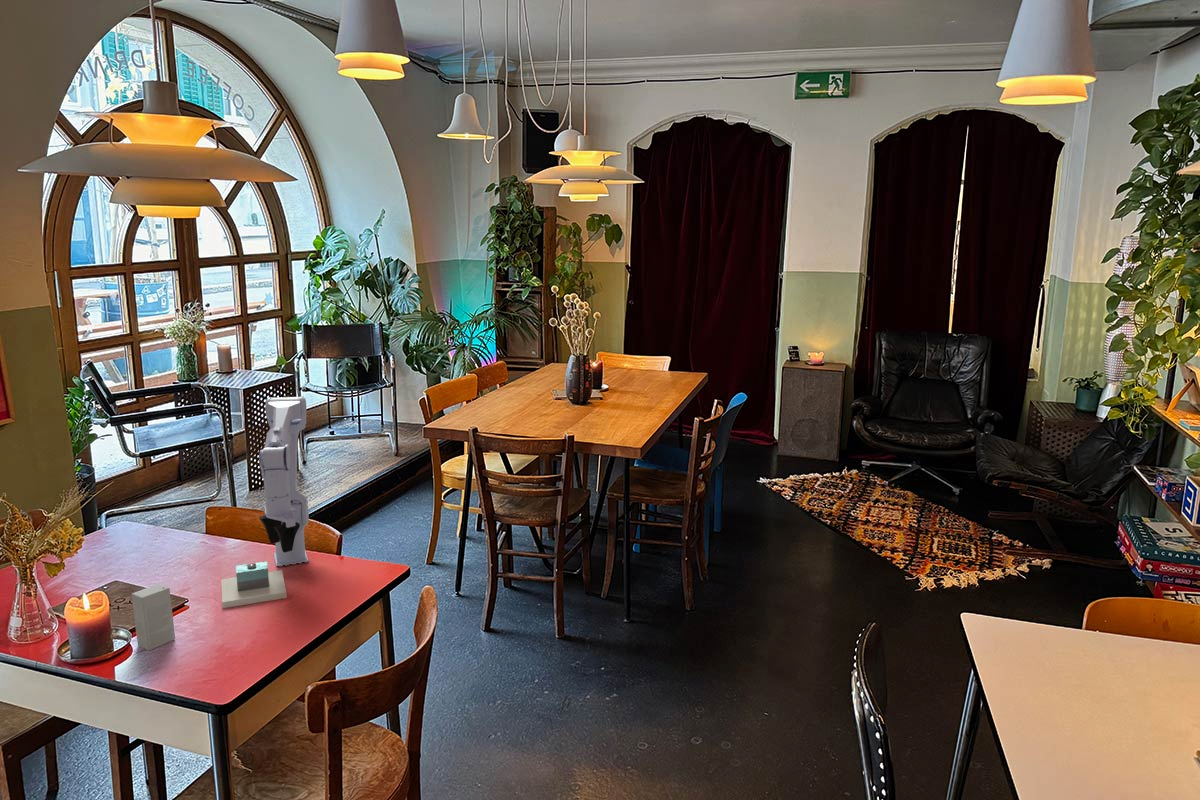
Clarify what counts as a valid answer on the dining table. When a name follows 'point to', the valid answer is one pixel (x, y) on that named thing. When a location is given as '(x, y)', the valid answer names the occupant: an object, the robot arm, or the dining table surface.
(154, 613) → the skincare box
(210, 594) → the dining table surface
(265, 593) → the stand tile
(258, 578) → the block
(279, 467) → the robot arm
